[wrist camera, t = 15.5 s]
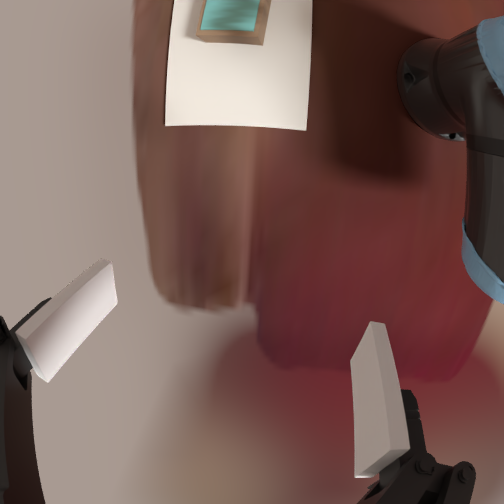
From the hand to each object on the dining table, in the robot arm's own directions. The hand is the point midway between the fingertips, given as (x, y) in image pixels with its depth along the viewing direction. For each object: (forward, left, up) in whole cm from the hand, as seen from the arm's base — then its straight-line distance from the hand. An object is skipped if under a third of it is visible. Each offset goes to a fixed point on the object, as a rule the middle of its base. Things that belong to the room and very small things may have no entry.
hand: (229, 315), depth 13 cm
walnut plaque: (-10, -19, -26) cm, 34 cm away
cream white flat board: (-12, -20, -29) cm, 37 cm away
